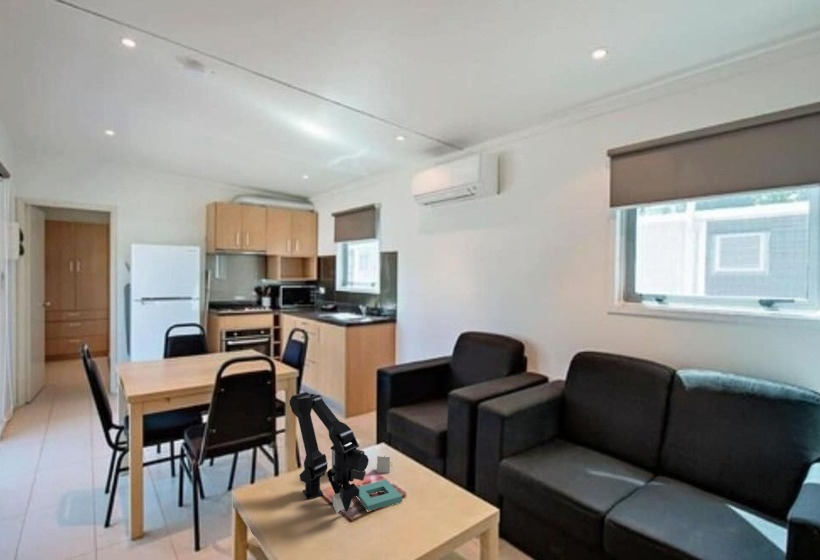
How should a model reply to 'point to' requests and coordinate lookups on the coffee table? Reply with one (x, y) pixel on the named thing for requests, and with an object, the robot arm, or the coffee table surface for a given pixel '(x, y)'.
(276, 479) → the coffee table surface
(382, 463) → the architectural model
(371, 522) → the coffee table surface
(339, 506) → the plug
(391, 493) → the socket board
